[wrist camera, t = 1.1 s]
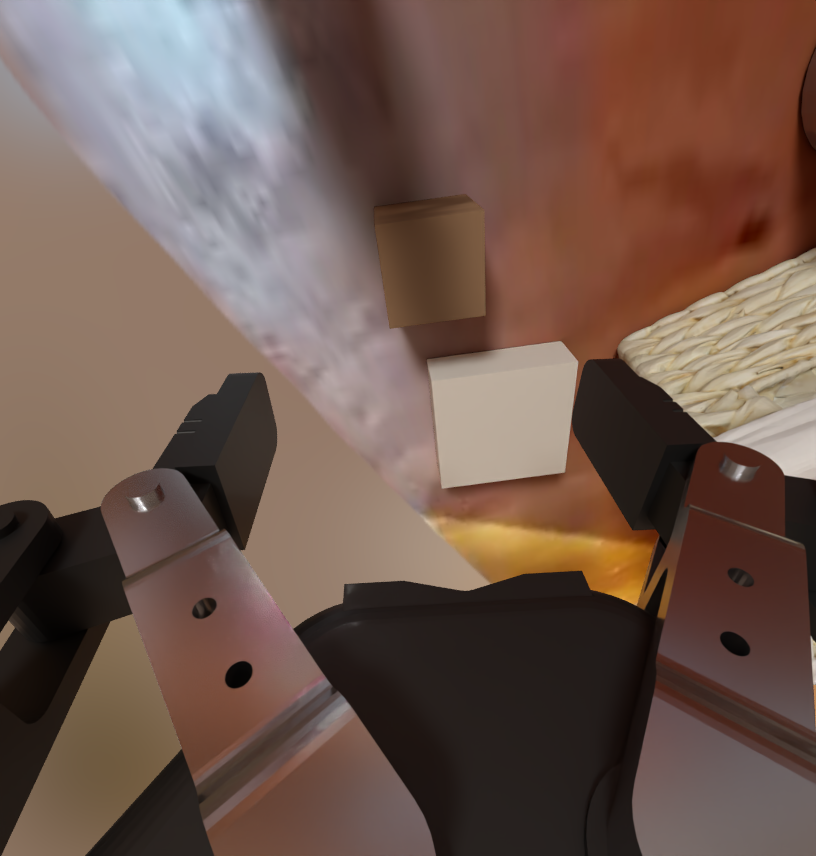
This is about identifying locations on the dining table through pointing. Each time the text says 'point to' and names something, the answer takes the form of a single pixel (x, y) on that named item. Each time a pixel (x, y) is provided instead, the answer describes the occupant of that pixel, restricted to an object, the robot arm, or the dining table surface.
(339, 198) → the dining table surface
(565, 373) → the white flat block
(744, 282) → the storage basket
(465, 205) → the walnut cube
